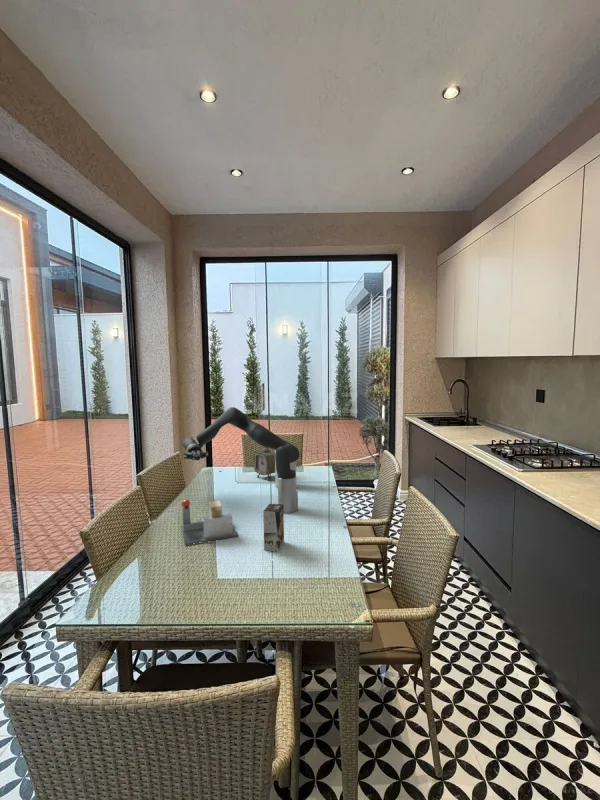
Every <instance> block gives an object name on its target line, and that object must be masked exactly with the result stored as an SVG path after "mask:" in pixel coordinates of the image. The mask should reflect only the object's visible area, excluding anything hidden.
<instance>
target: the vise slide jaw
mask: <svg viewBox="0 0 600 800" xmlns="http://www.w3.org/2000/svg"><path fill="white" fill-rule="evenodd" d="M190 505H191V502H190V500H189V499H183V500H182V502H181V513H182V525H183V531H190V530H196V529H203V518H202V519H196V520H191V509H190Z"/></svg>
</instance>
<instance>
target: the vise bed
mask: <svg viewBox="0 0 600 800" xmlns="http://www.w3.org/2000/svg"><path fill="white" fill-rule="evenodd" d="M202 519H203V529H196V530H190V531H183V524H182V525H180V528H182V529H181V534H182V533H183V534H182V539H183V543H184V546H185V545H188V544H193V543H199V542H206V543H209V542H208V541H212V542H215V541H216V540H218V541H222V539H223V540H228V539H234V538H238V537H239V533H238V532H237V531H236V528H235V527H234V524H233V516H232V513H226V514H222V515H219V516H212V517H209V516H207V517H202ZM188 546H189V545H188Z"/></svg>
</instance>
